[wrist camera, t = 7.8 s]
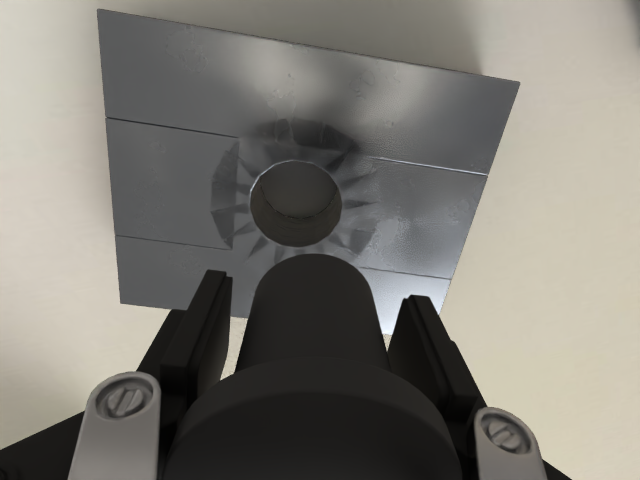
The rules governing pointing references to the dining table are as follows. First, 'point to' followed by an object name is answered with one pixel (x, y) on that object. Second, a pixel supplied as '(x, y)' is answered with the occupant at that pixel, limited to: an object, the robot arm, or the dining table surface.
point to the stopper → (312, 392)
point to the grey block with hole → (287, 160)
